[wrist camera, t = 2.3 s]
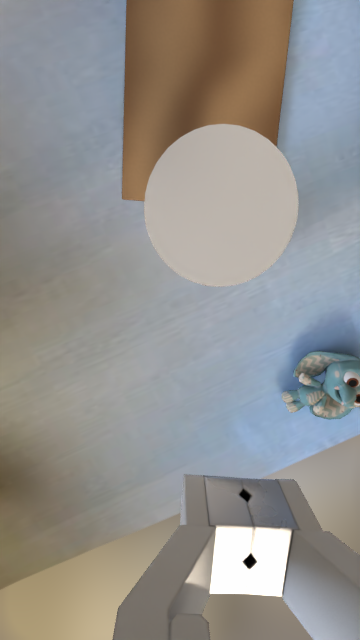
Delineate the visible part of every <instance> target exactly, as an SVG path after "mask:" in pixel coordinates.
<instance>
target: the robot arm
mask: <svg viewBox="0 0 360 640" xmlns="http://www.w3.org/2000/svg"><path fill="white" fill-rule="evenodd" d="M215 593H216V594H256V595H268V596H282V597H283V600H284V602H285V603H286V604H287V605H288V607H289V608H290V609H291V611H292V612H293V613H294V615H295V616H296V617H297V619H298V620H299V621H300V623H301V624H302V625H303V627H304V628H305V629H306V631H307V632H308V633H309V635H310V636H311V637H312V638H313V640H360V555H359V554H357V553H356V552H355V551H354V550H352V549H351V548H350V547H348V546H347V545H346V544H345V543H343V542H342V541H341V540H339V539H338V538H337V537H336V536H334V535H333V534H332V533H330V532H327V531H323V530H322V528H321V526H320V524H319V523H318V521H317V519H316V517H315V515H314V513H313V511H312V510H311V508H310V506H309V504H308V502H307V500H306V499H305V497H304V495H303V493H302V491H301V489H300V488H299V485H298V484H297V482H296V481H295V480H294V479H275V480H272V479H248V478H234V477H220V476H206V475H203V476H202V475H187V474H184V478H183V490H182V503H181V520H180V525H179V527H178V528H177V529H176V531H175V532H174V533H173V535H172V536H171V537H170V539H169V540H168V542H167V543H166V544H165V545H164V547H163V548H162V549H161V551H160V552H159V554H158V555H157V556H156V558H155V559H154V560H153V562H152V563H151V564H150V566H149V567H148V568H147V570H146V571H145V572H144V574H143V576H142V577H141V578H140V579H139V581H138V582H137V583H136V585H135V586H134V588H133V589H132V590H131V591H130V593H129V594H128V595H127V597H126V598H125V600H124V601H123V602H122V604H121V605H120V606H119V608H118V612H117V618H116V623H115V629H114V635H113V640H210V632H209V623H208V622H207V620H206V619H205V618H204V617H203V616H202V613H203V611H204V608H205V606H206V603H207V601H208V599H209V597H210V594H215Z"/></svg>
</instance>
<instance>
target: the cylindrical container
mask: <svg viewBox="0 0 360 640" xmlns="http://www.w3.org/2000/svg"><path fill="white" fill-rule="evenodd" d="M144 215H145V224H146V227H147V231H148V234H149V238H150V240H151V242H152V244H153V246H154V248H155V250H156V252H157V253H158V254H159V256H160V257H161V258H162V259H163V261H164V262H165V263H166V264H167V265H168V266H169V267H170V268H171V269H172V270H174V271H175V272H176V273H177V274H179V275H181V276H182V277H184V278H186V279H188V280H190V281H192V282H195V283H198V284H202V285H205V286H215V287H224V286H233V285H237V284H240V283H244V282H247V281H249V280H251V279H253V278H255V277H257V276H259V275H260V274H262V273H263V272H264V271H266V270H267V269H268V268H270V267H271V266H272V265H273V264H274V263H275V261H276V260H277V259H278V258H279V257H280V256H281V255H282V253H283V252H284V250H285V248H286V247H287V245H288V243H289V242H290V240H291V237H292V234H293V231H294V229H295V226H296V221H297V215H298V191H297V186H296V180H295V178H294V175H293V173H292V170H291V167H290V165H289V164H288V162H287V160H286V159H285V157H284V156H283V154H282V153H281V151H280V150H279V149H278V148H277V147H276V146H275V145H274V144H273V143H272V142H271V141H270V140H269V139H267V138H265V137H264V136H262V135H261V134H259V133H257V132H256V131H254V130H251V129H248V128H245V127H242V126H239V125H231V124H216V125H208V126H204V127H201V128H198V129H195V130H193V131H191V132H189V133H187V134H185V135H184V136H182V137H180V138H179V139H178V140H177V141H175V142H174V143H173V144H172V145H171V146H169V147H168V148H167V149H166V151H165V152H164V153H163V155H162V156H161V157H160V159H159V160H158V161H157V163H156V165H155V167H154V169H153V171H152V173H151V175H150V177H149V181H148V184H147V188H146V192H145V201H144Z"/></svg>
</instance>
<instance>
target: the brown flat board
mask: <svg viewBox="0 0 360 640" xmlns="http://www.w3.org/2000/svg"><path fill="white" fill-rule="evenodd" d="M293 1H294V0H127V5H126V48H125V91H124V135H123V178H122V199H123V200H138V201H145V192H146V188H147V184H148V181H149V177H150V175H151V173H152V171H153V169H154V167H155V165H156V163H157V161H158V160H159V159H160V157H161V156H162V155H163V153H164V152H165V151H166V149H167V148H168V147H169V146H171V145H172V144H173V143H174V142H175V141H177V140H178V139H179V138H180V137H182V136H184V135H185V134H187V133H189V132H191V131H193V130H195V129H198V128H201V127H204V126H208V125H216V124H231V125H239V126H242V127H245V128H248V129H251V130H254V131H256V132H257V133H259V134H261V135H262V136H264V137H265V138H267V139H269V140H270V141H271V142H272V143H273V144H274V145H275V146H277V138H278V129H279V121H280V112H281V104H282V95H283V87H284V78H285V69H286V61H287V52H288V44H289V35H290V27H291V18H292V10H293Z"/></svg>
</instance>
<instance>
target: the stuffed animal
mask: <svg viewBox="0 0 360 640" xmlns="http://www.w3.org/2000/svg"><path fill="white" fill-rule="evenodd" d="M326 368H327V370H326ZM324 370H326V377H325V381H324V383H323V384H320V382H319V381H316V380H315V379H313V378H312V377H314V376H318V375H320V374H321V373H322V372H323V371H324ZM293 376H294V377H299V382H301V383H303V384H305V385H304V386H302V387H300V388H299V389H298V390H289V391H285V392H283V393H282V399H283V401H284V402H286V403H287V404H286V407H287V409H288V410H289V411H290V412H291V413H292V412H296V411H298V410H300V409H301V408H302V407H303V406H305V405H307V406H310V412H311V413H312V414H314V415H315V416H317V417H321V418H325V419H341V418H342V417H344V416H346V415H347V414H349V412H350V411H351V410H352V409H353V408H355V407H360V358H358V357H355V356H352V355H349V354H343V353H328V352H321V351H317V352H310V353H309V354H307V355H306V356H305V357H304V358H303V359H301V360H300V362H299V363H298V365H297V367H296V368H295V370H294V374H293ZM297 398H299V399H300V400H299V401H295V400H296V399H297Z"/></svg>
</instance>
